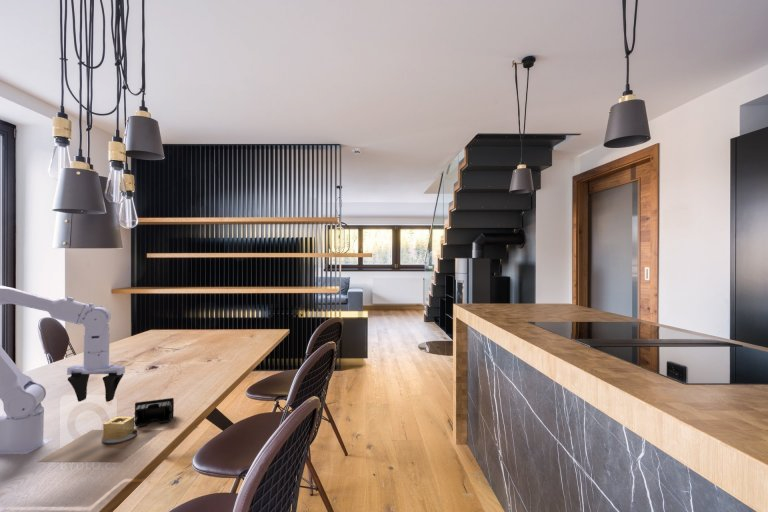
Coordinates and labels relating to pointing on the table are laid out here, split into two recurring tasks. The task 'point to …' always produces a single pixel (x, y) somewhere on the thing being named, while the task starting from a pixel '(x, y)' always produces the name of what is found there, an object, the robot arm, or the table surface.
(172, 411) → the end cap
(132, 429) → the collar
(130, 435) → the stand
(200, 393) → the table surface
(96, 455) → the board
